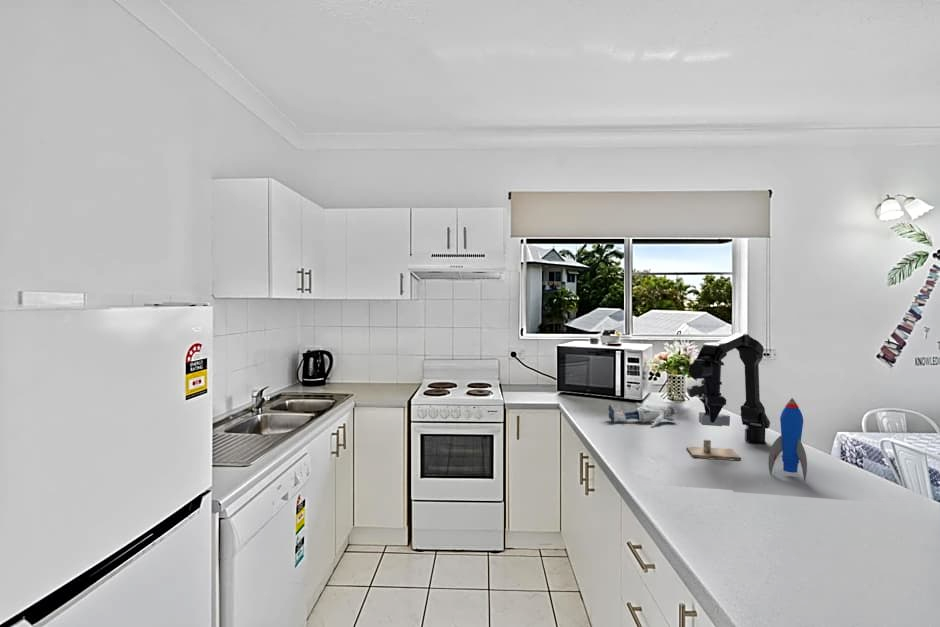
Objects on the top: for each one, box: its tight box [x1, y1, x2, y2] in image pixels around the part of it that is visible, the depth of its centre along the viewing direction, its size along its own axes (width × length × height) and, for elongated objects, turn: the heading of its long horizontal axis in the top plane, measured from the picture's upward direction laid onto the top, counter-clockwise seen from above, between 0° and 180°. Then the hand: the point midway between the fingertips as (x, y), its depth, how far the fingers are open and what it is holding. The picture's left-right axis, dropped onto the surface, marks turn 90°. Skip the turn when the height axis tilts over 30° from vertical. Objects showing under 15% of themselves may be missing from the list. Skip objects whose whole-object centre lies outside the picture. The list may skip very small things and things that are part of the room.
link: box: [698, 411, 731, 427], centre depth 212 cm, size 10×7×4 cm
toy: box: [608, 402, 678, 428], centre depth 265 cm, size 23×8×30 cm
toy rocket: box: [767, 397, 808, 482], centre depth 185 cm, size 11×10×25 cm
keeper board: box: [685, 439, 742, 461], centre depth 210 cm, size 16×12×5 cm
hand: (710, 420), depth 212 cm, fingers closed on link, 7 cm apart
